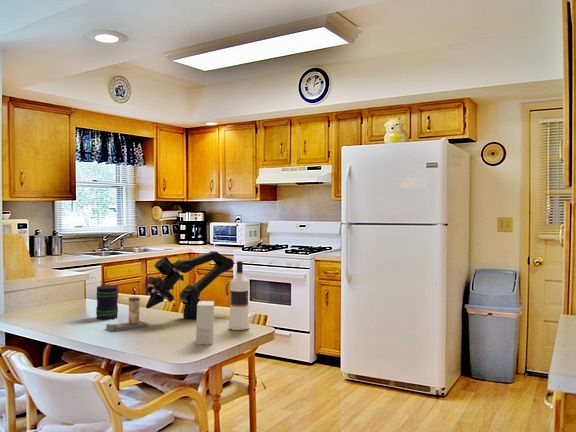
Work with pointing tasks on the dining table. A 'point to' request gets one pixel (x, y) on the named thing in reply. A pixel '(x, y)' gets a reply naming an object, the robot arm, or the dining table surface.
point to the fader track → (125, 326)
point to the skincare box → (205, 323)
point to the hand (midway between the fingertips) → (146, 307)
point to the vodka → (239, 300)
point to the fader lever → (134, 310)
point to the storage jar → (107, 302)
